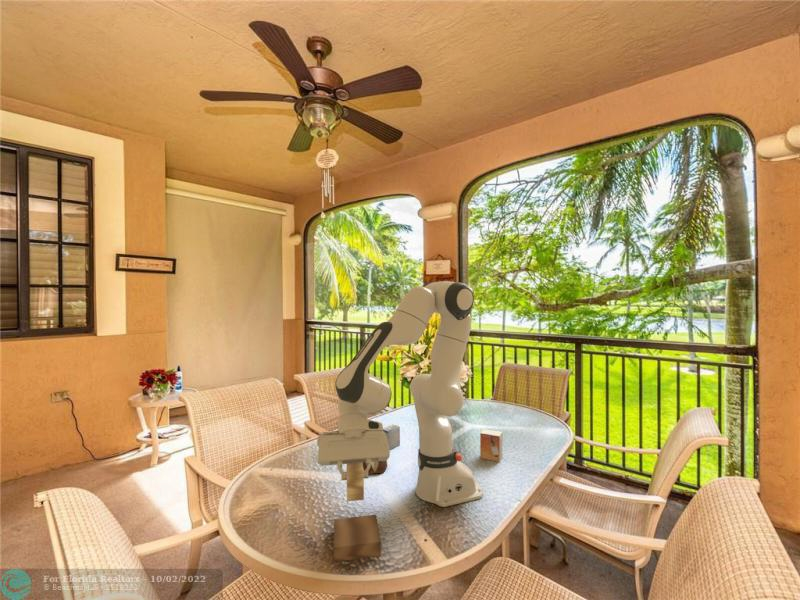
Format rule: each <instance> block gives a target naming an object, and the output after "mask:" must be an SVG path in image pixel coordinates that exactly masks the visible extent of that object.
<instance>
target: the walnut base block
mask: <svg viewBox="0 0 800 600" xmlns="http://www.w3.org/2000/svg"><path fill="white" fill-rule="evenodd" d="M380 556H382V541H381V536H380V529H379V523H378V518H377V514H369V515H360V516H359V515H358V516H351V517H342V518H334V519H333V562H334V563H336V562H341V561H342V562H343V561H347V560H348V561H349V560H356V559H357V560H358V559H364V558H373V557H380Z"/></svg>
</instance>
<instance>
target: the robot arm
mask: <svg viewBox="0 0 800 600" xmlns="http://www.w3.org/2000/svg"><path fill="white" fill-rule="evenodd" d="M474 302H475V296H474V291H473V289H472V288H471V286H470V285H468V284H466V283H463V282H458V281H456V282H455V281H450V280H443V281H429V282H426V283H424V284H422V285H421V286H420V285H414V286H412V287H410V289H409V290H408V292H407V293H406V294H404V296H403V298H402V299H401V301H400V303H399V305H398V306H397V308H396V310H395V312H394V313H393V315H392V316H391V317H390V318H389V319H388V320H386V321H383V322H381V323H379V324H378V325H377V326H376V327H375V328H374V330H373V331H372V332H371V333H370V335H369V336H368V338H367V339H366V340H365V342H364V343H363V345H361V347H360V348H359V350H358V351H357V352H356V353H355V356H353V358H352V359H351V361H350V362H349V363H348V364H347V365H346V366H345V367H344V368H343V369H342V370H341V371H340V372H339V374H337V377H336V378H335V379H336V380H335V391H336V395H337V397H338V399H337V409H338V413H339V415H338V421H337V422H338V423H337V427H338V428H337V429H338V430H332V431H322V432H321V433H320V434H318V436H317V439H316V443H317V446H318V450H317V463H318V465H320V466H321V467H327V466H335V465H336V466H337V467H336V469H337V470H338V472H339V474H340V475H341V479H340V480H341V481H347V470H346V471H344V469H343V465H347V464H350V463H364V462H366V466H367V468H366V470H364V479H369V474H368V471H369V469H370V467H371V463H372V462H376V461H387V462H388V459H389V458H390V456H391V455H390V454H391V450H389V444H388V440H387V436H386V434H385V433H384V432H383V428H384V425H383V423H382V422H380V421H376V420H373V419H372V420H371V419H369V418H368V416H369V415H374V414H377V413H379V412H382V411H383V410H385V409H386V408H387V407H388V406H389V404H390V403H391V400H392V395H393V394H392V387H391V386H390V384H389V383H388V382H386V381H385V380H382V379H381V378H378V377H377V376H374V375H372V374H370V373H369V370H370V368H371V366H372V365H373V364H374V362H375V361H376V359H377V358H378V356H379V355H380V353H381V352H382V351H383V350H384V349H385V348H386V347H389V346H393V345H394V346H395V345H396V346H409V345H412V344H415V343H417V342H418V341H419V340H420V339H421V338H422V336H423V335H424V333H425V330H426V329H427V326H428V324H429V322H430V320H431V317H432V316H433V314H435V313H436V314H439V317H440V321H439V325H438V328H437V331H436V334H435V337H434V340H433V344H432V346H431V350H430V353H429V359H430V364H431V368H430V369H431V370H430V373H420V374H417V375H415V376H414V377H413V378H412V379H411V382H410V384H409V392H410V394H411V396H412V399H413V403H414V408H415V413H416V418H417V423H418V437H419V438H418V440H419V445H418V446H419V448H418V451H417V452H418V453H417V464H418V476H417V483H416V487H415V489H414V491H415V492H414V493H415V494H416V496H417V497H418V498H419V499H421V500H422V501H426V502H428V503H432V504H434V505H436V506H439V507H442V508H447V507H449V506H454V505H458V504H463V503H466V502H471V501H474V500H478V499H481V498H483V489H482V486H481V485H480V484H479V482H478V481H477V480H476V479H475V476H474V473H473V472H472V470H471V469H470V467H469V466H468V465H466V464H464V463H463V462H462V461H463V456H462V455H461V453H460V452H458V451H457V450H456V449H455V448H454V447H453V430H452V429H453V428H452V425H451V423H450V421H449V419H448V418H450V417H454V416H456V415H458V414H459V413H460V412H461V410H462V409H463V406H464V395H463V392H462V389H461V369H462V363H463V360H464V357H465V356H464V355H465V351H466V349H467V345H468V341H469V339H470V338H469V337H470V333H471V325H472V316H471V311H472V309H473V307H474Z"/></svg>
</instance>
